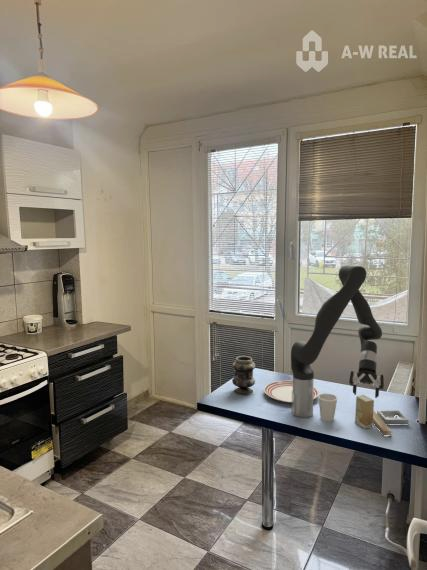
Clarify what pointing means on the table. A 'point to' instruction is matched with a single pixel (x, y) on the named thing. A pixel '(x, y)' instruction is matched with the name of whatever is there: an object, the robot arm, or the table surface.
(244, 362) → the dark carved vase
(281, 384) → the dinner plate
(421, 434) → the table surface
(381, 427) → the sill
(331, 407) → the dixie cup
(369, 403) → the skincare box
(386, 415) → the tray
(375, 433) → the table surface
